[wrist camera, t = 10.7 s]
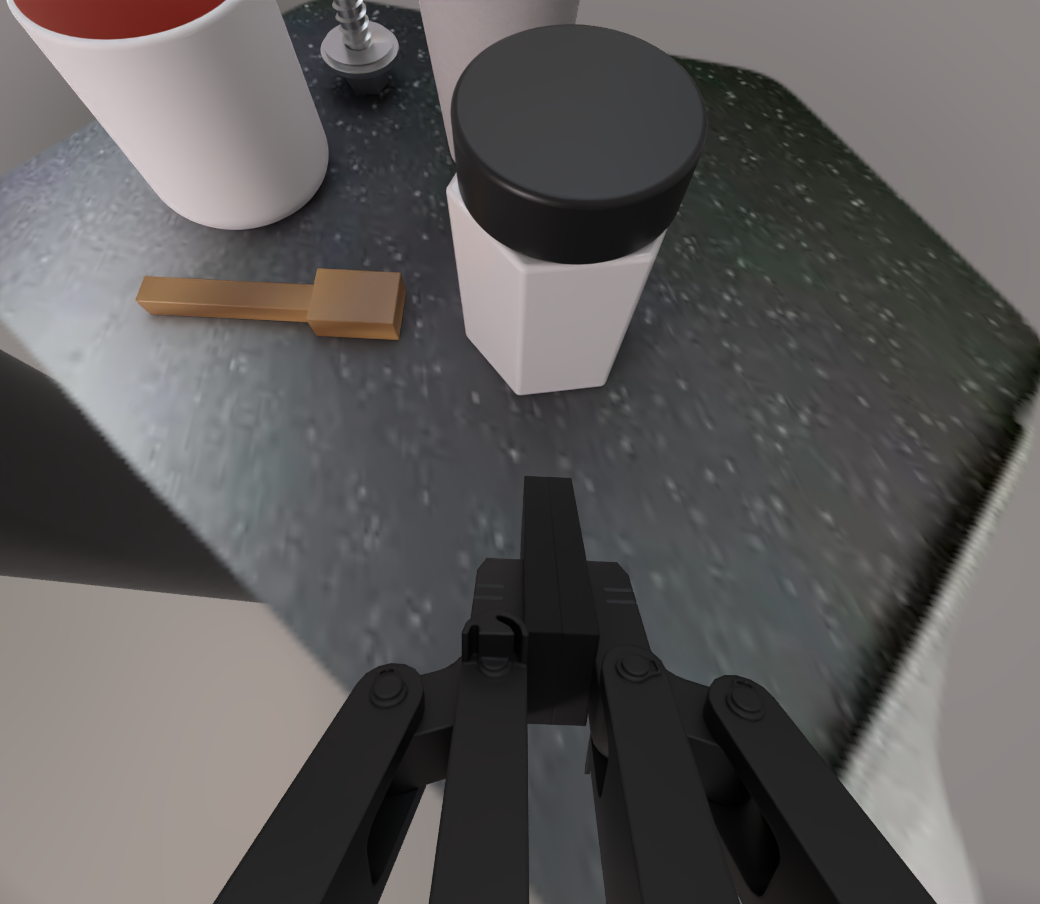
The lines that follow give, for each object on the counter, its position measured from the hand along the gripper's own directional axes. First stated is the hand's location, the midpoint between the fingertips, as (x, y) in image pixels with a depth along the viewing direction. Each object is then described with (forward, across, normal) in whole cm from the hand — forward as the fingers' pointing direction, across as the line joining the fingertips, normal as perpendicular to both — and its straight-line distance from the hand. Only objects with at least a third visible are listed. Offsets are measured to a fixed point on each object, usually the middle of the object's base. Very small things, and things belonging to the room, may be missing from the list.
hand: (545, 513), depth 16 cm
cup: (+20, -18, +10) cm, 29 cm away
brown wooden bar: (+14, -14, +4) cm, 20 cm away
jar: (+13, 0, +3) cm, 14 cm away
